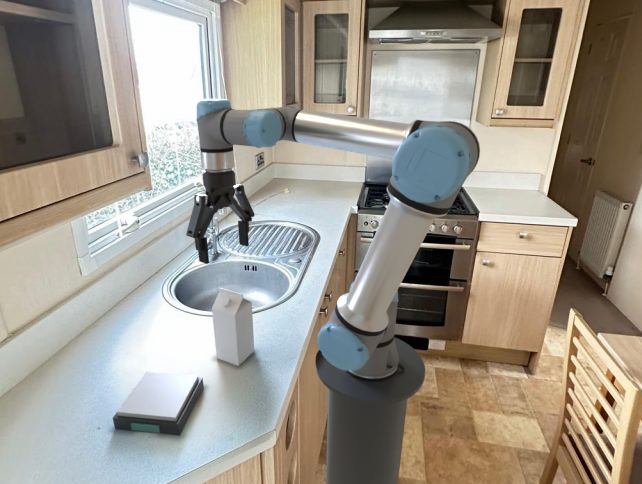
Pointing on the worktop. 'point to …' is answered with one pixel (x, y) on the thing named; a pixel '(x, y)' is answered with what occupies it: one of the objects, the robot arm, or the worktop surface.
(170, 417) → the kitchen scale
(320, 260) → the worktop surface
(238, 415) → the worktop surface
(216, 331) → the milk carton
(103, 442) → the worktop surface
